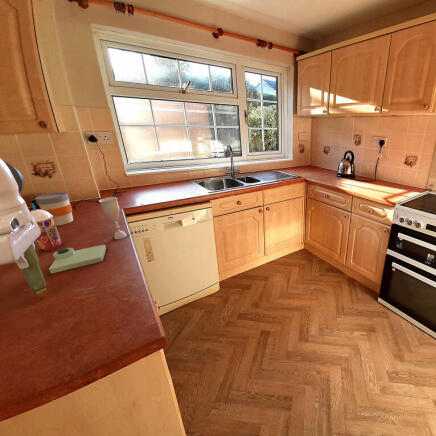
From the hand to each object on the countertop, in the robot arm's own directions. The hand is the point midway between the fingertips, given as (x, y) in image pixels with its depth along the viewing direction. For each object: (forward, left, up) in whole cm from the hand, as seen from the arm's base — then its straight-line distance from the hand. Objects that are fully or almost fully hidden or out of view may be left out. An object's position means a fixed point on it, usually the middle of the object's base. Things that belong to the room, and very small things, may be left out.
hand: (29, 262), depth 69 cm
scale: (+4, +23, -13) cm, 27 cm away
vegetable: (0, 0, -10) cm, 10 cm away
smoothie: (-9, +43, -13) cm, 46 cm away
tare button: (-1, +26, -10) cm, 28 cm away
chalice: (+16, +39, -13) cm, 44 cm away
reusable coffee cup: (-13, +79, -13) cm, 81 cm away
